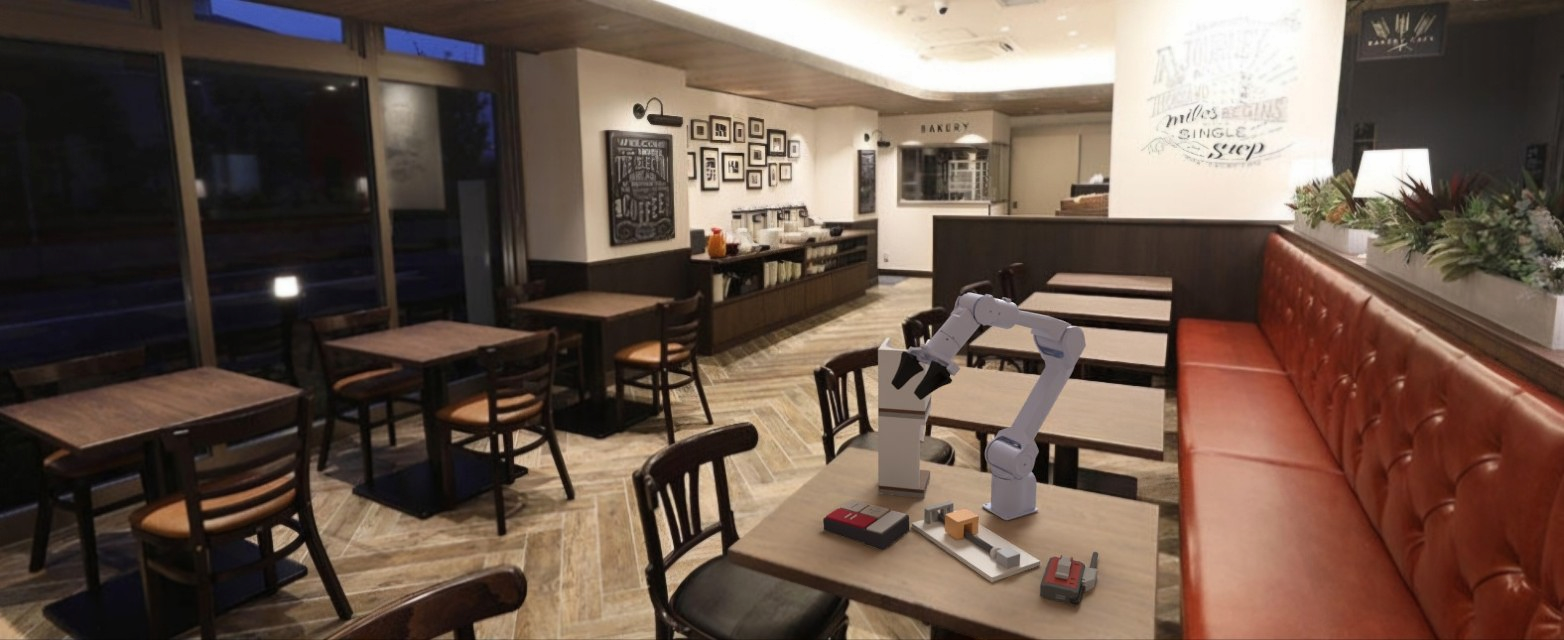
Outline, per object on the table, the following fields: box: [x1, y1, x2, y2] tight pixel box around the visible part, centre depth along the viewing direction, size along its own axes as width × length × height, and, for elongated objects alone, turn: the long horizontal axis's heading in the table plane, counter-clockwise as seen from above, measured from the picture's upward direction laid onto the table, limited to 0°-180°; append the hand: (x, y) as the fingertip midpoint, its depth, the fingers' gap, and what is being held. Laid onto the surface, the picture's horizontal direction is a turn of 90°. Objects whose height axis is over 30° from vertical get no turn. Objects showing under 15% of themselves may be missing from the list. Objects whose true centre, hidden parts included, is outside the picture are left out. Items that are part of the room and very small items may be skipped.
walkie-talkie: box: [1039, 551, 1099, 606], centre depth 148 cm, size 9×4×20 cm
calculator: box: [822, 499, 910, 551], centre depth 169 cm, size 11×4×15 cm
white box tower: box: [877, 337, 932, 499], centre depth 186 cm, size 11×11×35 cm
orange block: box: [945, 508, 979, 540], centre depth 163 cm, size 5×4×4 cm
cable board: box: [911, 500, 1041, 583], centre depth 161 cm, size 12×25×4 cm, turn 27°
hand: (905, 391), depth 157 cm, fingers open, 7 cm apart
